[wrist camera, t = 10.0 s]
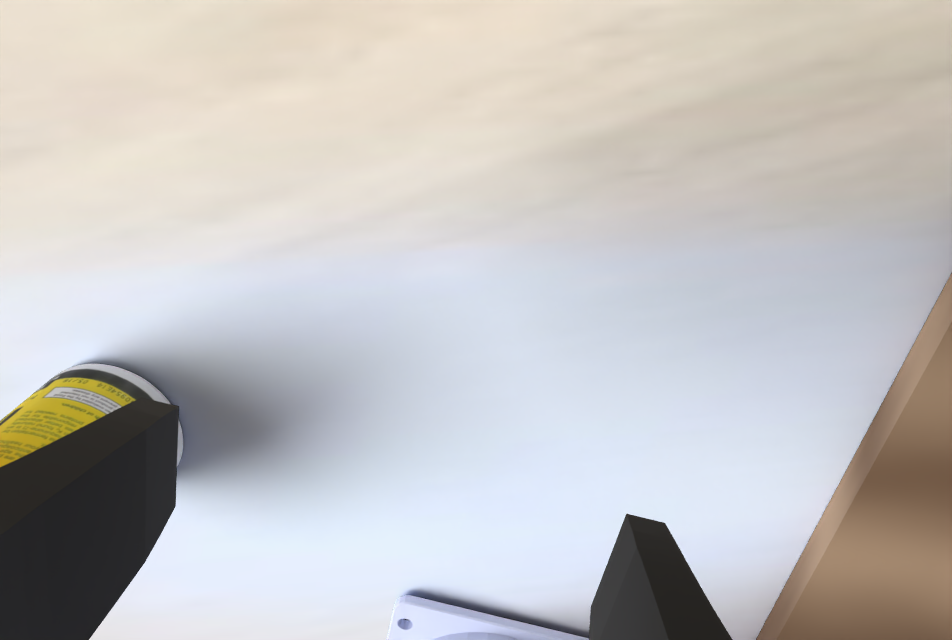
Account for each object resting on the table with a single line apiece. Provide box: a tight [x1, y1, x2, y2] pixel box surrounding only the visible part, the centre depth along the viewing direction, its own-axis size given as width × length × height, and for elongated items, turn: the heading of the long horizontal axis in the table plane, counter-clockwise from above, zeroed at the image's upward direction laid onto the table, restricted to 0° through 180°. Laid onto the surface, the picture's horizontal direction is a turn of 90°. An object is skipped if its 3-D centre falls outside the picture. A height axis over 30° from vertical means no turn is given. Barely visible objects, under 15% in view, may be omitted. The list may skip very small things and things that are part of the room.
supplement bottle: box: [0, 364, 183, 467], centre depth 21 cm, size 5×5×8 cm
